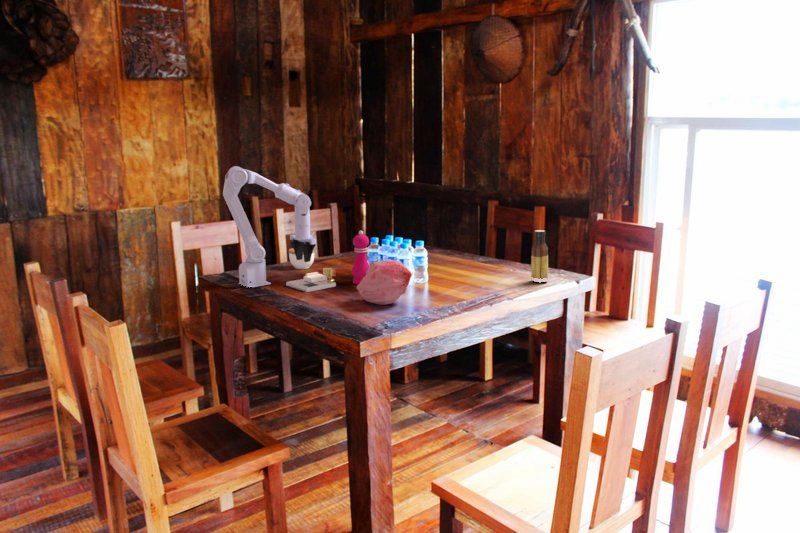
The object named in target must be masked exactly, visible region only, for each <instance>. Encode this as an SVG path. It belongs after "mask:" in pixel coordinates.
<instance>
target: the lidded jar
mask: <svg viewBox="0 0 800 533" xmlns="http://www.w3.org/2000/svg"><path fill="white" fill-rule="evenodd" d="M315 251H316V250H315V248H314V249H313V252H312V255H311V259H310V262H305V261H304V255H303V258H302V260H297V259H296V255H295V252H294V249H293V247H291V248H289V249H288V257H289V261H290V264H291V266H293V267H294V269H296V270H307V269H310V267H311V266H312V265H313V263H314V260H315Z"/></svg>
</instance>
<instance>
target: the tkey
mask: <svg viewBox="0 0 800 533" xmlns="http://www.w3.org/2000/svg"><path fill="white" fill-rule="evenodd" d="M336 272H337V270H336V269H334V268H331V267H323V268H322V275H326V276H327V280H328V281H332V282H335V279H334V278H332V277H336V276H337V275H336V274H337V273H336Z"/></svg>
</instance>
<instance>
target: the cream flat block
mask: <svg viewBox="0 0 800 533" xmlns="http://www.w3.org/2000/svg"><path fill="white" fill-rule="evenodd" d="M303 279H304V281H307V282H311V283H312V282H318V281H323V280H327V275H325V274H323V273H319V272H318V271H314V272H308V273H305V275H303Z"/></svg>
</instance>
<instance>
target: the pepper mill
mask: <svg viewBox="0 0 800 533" xmlns="http://www.w3.org/2000/svg"><path fill="white" fill-rule="evenodd" d="M352 244H353V246H354V252H355V259H354V263H353V265H352V268H351V275H352V276H353V278H352V283H353V284H354V285H359V284H360V282H361V281H362V279H363V277H365V276H366V271H367V270H368V269H369V267H370V264H369V261H368V258H367V253H368V252H369V251H368V249H369V246H368V245H369V244H370V239H369V237H368V236H367V235H365V234H364V231H363V230H359V231H358V234H357V235H355V236H354V237H353V239H352Z"/></svg>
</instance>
